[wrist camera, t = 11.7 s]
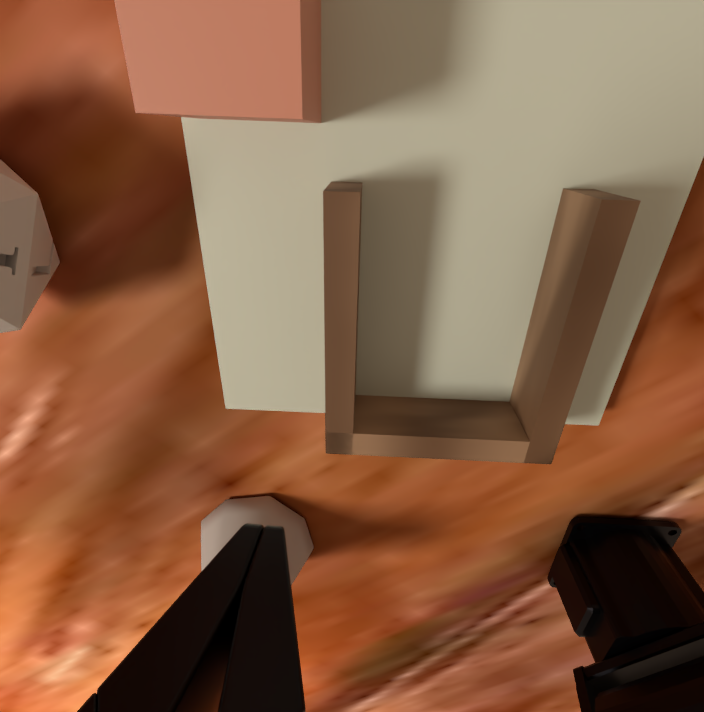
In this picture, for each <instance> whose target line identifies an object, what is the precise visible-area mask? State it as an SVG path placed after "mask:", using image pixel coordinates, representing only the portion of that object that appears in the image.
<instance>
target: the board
mask: <svg viewBox="0 0 704 712" xmlns="http://www.w3.org/2000/svg"><path fill="white" fill-rule="evenodd" d="M181 120H182V126H183V133H184V139H185V146H186V152H187V159H188V165H189V172H190V179H191V185H192V192H193V198H194V205H195V211H196V218H197V224H198V231H199V237H200V244H201V250H202V257H203V263H204V270H205V277H206V283H207V290H208V296H209V303H210V309H211V316H212V322H213V329H214V335H215V342H216V348H217V355H218V361H219V368H220V375H221V381H222V388H223V394H224V401H225V407H226V408H227V409H248V410H270V411H292V412H314V413H325V335H324V239H323V191H324V189H325V188H326V187H327V186H328V185H329V184H330V183H331V182H361V183H362V214H361V244H360V275H359V306H358V337H357V367H356V395H369V396H392V397H415V398H437V399H460V400H482V401H505V402H509V401H510V397H511V393H512V389H513V385H514V381H515V377H516V373H517V369H518V366H519V362H520V358H521V354H522V350H523V346H524V342H525V338H526V334H527V330H528V326H529V322H530V318H531V314H532V310H533V306H534V302H535V298H536V294H537V290H538V286H539V282H540V278H541V274H542V270H543V266H544V262H545V258H546V254H547V250H548V246H549V242H550V238H551V234H552V230H553V226H554V222H555V218H556V214H557V210H558V206H559V202H560V198H561V194H562V190H563V188H566V189H596V190H600V191H604V192H608V193H612V194H616V195H620V196H624V197H628V198H632V199H636V200H640V201H641V202H640V205H639V208H638V211H637V213H636V216H635V219H634V222H633V225H632V228H631V231H630V234H629V237H628V240H627V243H626V246H625V249H624V252H623V255H622V258H621V260H620V263H619V266H618V269H617V272H616V275H615V278H614V281H613V284H612V287H611V290H610V293H609V296H608V299H607V302H606V305H605V307H604V310H603V313H602V316H601V319H600V322H599V325H598V328H597V331H596V334H595V337H594V340H593V343H592V346H591V349H590V351H589V354H588V357H587V360H586V363H585V366H584V369H583V372H582V375H581V378H580V381H579V384H578V387H577V390H576V393H575V396H574V398H573V401H572V404H571V407H570V410H569V413H568V416H567V419H566V422H565V424H577V425H599V423H600V421H601V418H602V415H603V413H604V410H605V408H606V405H607V403H608V400H609V398H610V395H611V392H612V390H613V387H614V385H615V382H616V380H617V377H618V375H619V372H620V369H621V367H622V364H623V362H624V359H625V357H626V354H627V351H628V349H629V346H630V344H631V341H632V339H633V336H634V334H635V331H636V328H637V326H638V323H639V321H640V318H641V316H642V313H643V311H644V308H645V305H646V303H647V300H648V298H649V295H650V293H651V290H652V288H653V285H654V282H655V280H656V277H657V275H658V272H659V270H660V267H661V264H662V262H663V259H664V257H665V254H666V252H667V249H668V247H669V244H670V241H671V239H672V236H673V234H674V231H675V229H676V226H677V224H678V221H679V218H680V216H681V213H682V211H683V208H684V206H685V203H686V201H687V198H688V195H689V193H690V190H691V188H692V185H693V183H694V180H695V178H696V175H697V172H698V170H699V167H700V165H701V162H702V160H703V157H704V0H321V123H303V122H276V121H250V120H224V119H198V118H187V117H181Z"/></svg>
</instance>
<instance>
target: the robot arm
mask: <svg viewBox="0 0 704 712" xmlns="http://www.w3.org/2000/svg"><path fill="white" fill-rule="evenodd" d="M681 532H682V531H681V529H680V527H679V526H678V525H677V524H676V523H675V522H667V521H648V520H629V519H610V518H591V517H576V518H574V519H572V520H571V521H570V523H569V525H568V528H567V530H566V533H565V535H564V538H563V540H562V543H561V545H560V547H559V549H558V551H557V554H556V556H555V559H554V561H553V564H552V566H551V569H550V572H549V575H548V578H547V579H548V581H549V584H550V586H552V587H556V588H557V590H558V592H559V595H560V597H561V600H562V602H563V605H564V607H565V610H566V612H567V614H568V617H569V619H570V622H571V624H572V627H573V629H574V632H575V633H576V634H577V635H578V636H579V637H585V639H586V642H587V644H588V646H589V649H590V651H591V654H592V656H593V658H594V661H595V663H594V664H591V665H589V666H586V667H583V666H580V667H578V668H575V669H573V673H574V677H575V682H576V690H577V694H578V699H579V703H580V708H581V712H704V592H703V591H702V589H701V588H700V586H699V585H698V584H697V582H696V581H695V579H694V578H693V577H692V575H691V574H690V573H689V571H688V570H687V568H686V567H685V566H684V564H683V563H682V561H681V560H680V559H679V557H678V556H677V555H676V553H675V552H674V550H673V549H672V547H673V546H674V544H675V542H676V541H677V539H678V537H679V536H680V534H681ZM77 712H305V701H304V692H303V684H302V675H301V667H300V658H299V649H298V641H297V632H296V623H295V615H294V606H293V597H292V589H291V580H290V572H289V563H288V554H287V546H286V537H285V530H284V527H282V526H274V525H266V526H265V527H264V526H263V525H261V524H251V523H246V524H244V525H243V526H242V527H241V528H240V529H239V530H238V531H237V532H236V533H235V534H234V536H233V537H232V538H231V539H230V540H229V541H228V542H227V543H226V545H225V546H224V547H223V548H222V549H221V550H220V551H219V552H218V554H217V555H216V556H215V557H214V558H213V559H212V560H211V561H210V563H209V564H208V565H207V566H206V567H205V568H204V569H203V570H202V572H201V573H200V574H199V575H198V576H197V577H196V578H195V579H194V581H193V582H192V583H191V584H190V585H189V586H188V587H187V589H186V590H185V591H184V592H183V593H182V594H181V595H180V596H179V598H178V599H177V600H176V601H175V602H174V603H173V604H172V605H171V607H170V608H169V609H168V610H167V611H166V612H165V613H164V614H163V616H162V617H161V618H160V619H159V620H158V621H157V622H156V623H155V625H154V626H153V627H152V628H151V629H150V630H149V631H148V632H147V634H146V635H145V636H144V637H143V638H142V639H141V640H140V642H139V643H138V644H137V645H136V646H135V647H134V648H133V649H132V651H131V652H130V653H129V654H128V655H127V656H126V657H125V658H124V660H123V661H122V662H121V663H120V664H119V665H118V666H117V667H116V669H115V670H114V671H113V672H112V673H111V674H110V675H109V676H108V678H107V679H106V680H105V681H104V682H103V683H102V684H101V686H100V687H99V688H98V690H97V694H96V693H94V694H92V695H91V696H90V698H89V699H88V700H87V701H86V702H85V703H84V704H83V706H82V707H81V708H80V709H79V710H78V711H77Z"/></svg>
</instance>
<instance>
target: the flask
mask: <svg viewBox="0 0 704 712" xmlns="http://www.w3.org/2000/svg"><path fill="white" fill-rule="evenodd" d="M246 523H251V524H261V525H263V526H264V527H265V526H266V525H274V526H282V527H284V530H285V537H286V546H287V554H288V563H289V572H290V580H291V585H292V583H293V582H294V580H295V578H296V577H297V575H298V574H299V572H300V570H301V569H302V567H303V565H304V564H305V562H306V561H307V559H308V557H309V555H310V554H311V552H312V550H313V548H314V546H313V543H312V540H311V537H310V534H309V531H308V528H307V525H306V522H305V519H304V518H303V517H301V516H300V515H298V514H297V513H295V512H294V511H292V510H291V509H289V508H288V507H286V506H285V505H283V504H281V503H280V502H278V501H277V500H275V499H274V498H272V497H271V496H261V497H250V498H239V499H228V500H225V501H224V502H223V503H222V504H221V505H219V506H218V507H217V508H216V509H215V510H214V511H212V512H211V513H210V514H209V515H208V516H207V517H205V518H204V519H203V520H202V521H201V572H202V570H203V569H204V568H205V567H206V566H207V565H208V564H209V563H210V561H211V560H212V559H213V558H214V557H215V556H216V555H217V554H218V552H219V551H220V550H221V549H222V548H223V547H224V546H225V545H226V543H227V542H228V541H229V540H230V539H231V538H232V537H233V536H234V534H235V533H236V532H237V531H238V530H239V529H240V528H241V527H242V526H243V525H244V524H246Z"/></svg>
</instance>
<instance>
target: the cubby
mask: <svg viewBox="0 0 704 712" xmlns="http://www.w3.org/2000/svg"><path fill="white" fill-rule="evenodd" d="M640 202H641V201H640V200H636V199H632V198H628V197H624V196H620V195H616V194H612V193H608V192H604V191H600V190H596V189H566V188H563V190H562V194H561V198H560V202H559V206H558V210H557V214H556V218H555V222H554V226H553V230H552V234H551V238H550V242H549V246H548V250H547V254H546V258H545V262H544V266H543V270H542V274H541V278H540V282H539V286H538V290H537V294H536V298H535V302H534V306H533V310H532V314H531V318H530V322H529V326H528V330H527V334H526V338H525V342H524V346H523V350H522V354H521V358H520V362H519V366H518V369H517V373H516V377H515V381H514V385H513V389H512V393H511V397H510V401H509V402H505V401H482V400H460V399H437V398H415V397H392V396H369V395H356V367H357V337H358V306H359V275H360V244H361V214H362V183H361V182H331V183H330V184H329V185H328V186H327V187H326V188H325V189H324V191H323V239H324V335H325V431H326V453H329V454H350V455H370V456H391V457H411V458H432V459H453V460H473V461H494V462H515V463H535V464H551V463H552V460H553V457H554V454H555V451H556V448H557V445H558V443H559V440H560V437H561V434H562V431H563V428H564V425H565V422H566V419H567V416H568V413H569V410H570V407H571V404H572V401H573V398H574V396H575V393H576V390H577V387H578V384H579V381H580V378H581V375H582V372H583V369H584V366H585V363H586V360H587V357H588V354H589V351H590V349H591V346H592V343H593V340H594V337H595V334H596V331H597V328H598V325H599V322H600V319H601V316H602V313H603V310H604V307H605V305H606V302H607V299H608V296H609V293H610V290H611V287H612V284H613V281H614V278H615V275H616V272H617V269H618V266H619V263H620V260H621V258H622V255H623V252H624V249H625V246H626V243H627V240H628V237H629V234H630V231H631V228H632V225H633V222H634V219H635V216H636V213H637V211H638V208H639V205H640Z"/></svg>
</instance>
